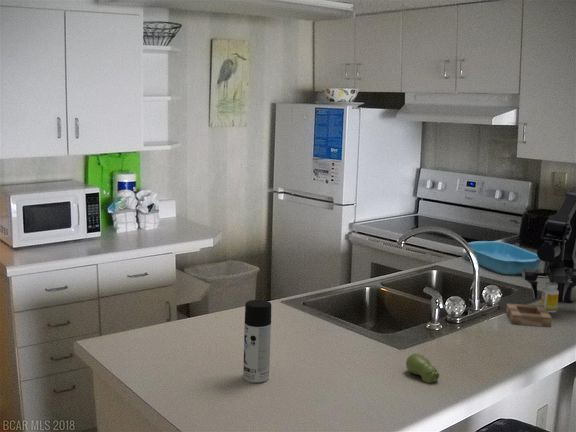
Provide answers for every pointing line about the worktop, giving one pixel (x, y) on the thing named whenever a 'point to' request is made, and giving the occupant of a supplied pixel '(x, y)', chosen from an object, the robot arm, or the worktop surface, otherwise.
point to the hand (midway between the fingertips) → (549, 300)
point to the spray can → (257, 341)
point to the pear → (422, 368)
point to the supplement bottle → (550, 297)
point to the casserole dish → (504, 257)
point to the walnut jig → (528, 315)
